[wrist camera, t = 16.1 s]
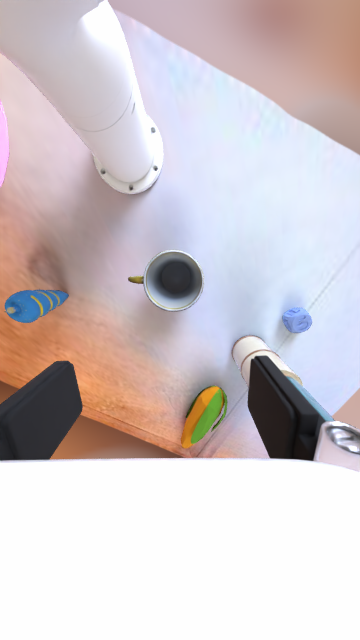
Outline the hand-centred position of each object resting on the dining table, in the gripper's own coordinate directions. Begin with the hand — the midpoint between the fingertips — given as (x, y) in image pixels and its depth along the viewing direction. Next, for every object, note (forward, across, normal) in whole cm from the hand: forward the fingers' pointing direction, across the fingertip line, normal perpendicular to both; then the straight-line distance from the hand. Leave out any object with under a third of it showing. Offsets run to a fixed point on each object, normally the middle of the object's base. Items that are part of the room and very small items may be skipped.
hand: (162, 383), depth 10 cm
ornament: (+34, +25, 0) cm, 42 cm away
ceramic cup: (+34, +2, -3) cm, 34 cm away
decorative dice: (+34, -25, +7) cm, 42 cm away
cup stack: (+33, -16, +15) cm, 40 cm away
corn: (+34, -4, +32) cm, 46 cm away
